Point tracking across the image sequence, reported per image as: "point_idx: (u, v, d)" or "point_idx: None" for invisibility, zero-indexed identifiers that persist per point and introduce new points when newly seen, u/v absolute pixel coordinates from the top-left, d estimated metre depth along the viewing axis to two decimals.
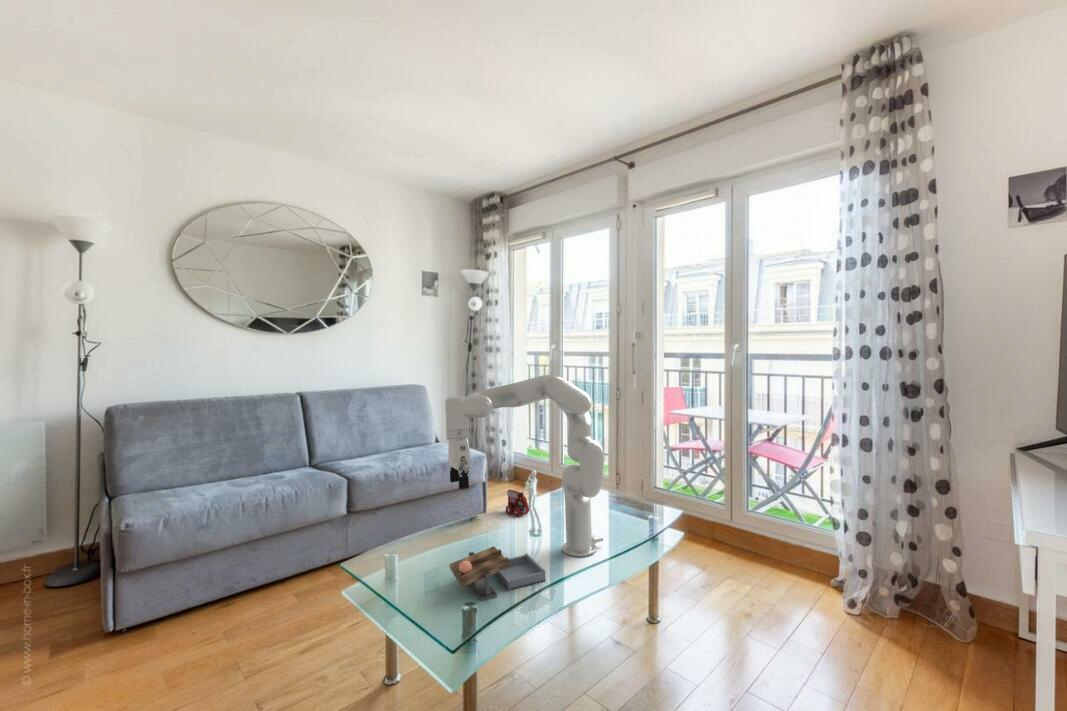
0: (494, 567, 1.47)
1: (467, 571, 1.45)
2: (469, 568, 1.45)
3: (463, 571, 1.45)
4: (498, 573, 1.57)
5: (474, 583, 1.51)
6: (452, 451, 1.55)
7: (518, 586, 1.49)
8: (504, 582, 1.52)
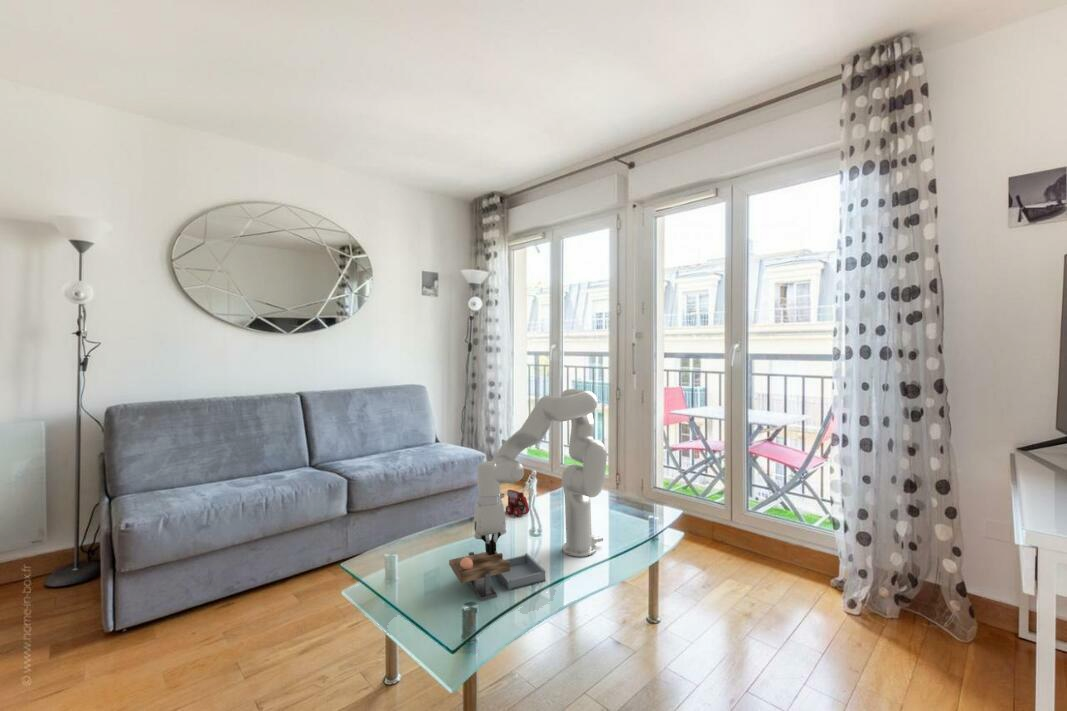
0: (495, 569, 1.47)
1: (468, 568, 1.45)
2: (470, 565, 1.45)
3: (464, 567, 1.45)
4: None
5: (474, 583, 1.51)
6: (496, 516, 1.57)
7: (518, 586, 1.49)
8: (504, 582, 1.52)
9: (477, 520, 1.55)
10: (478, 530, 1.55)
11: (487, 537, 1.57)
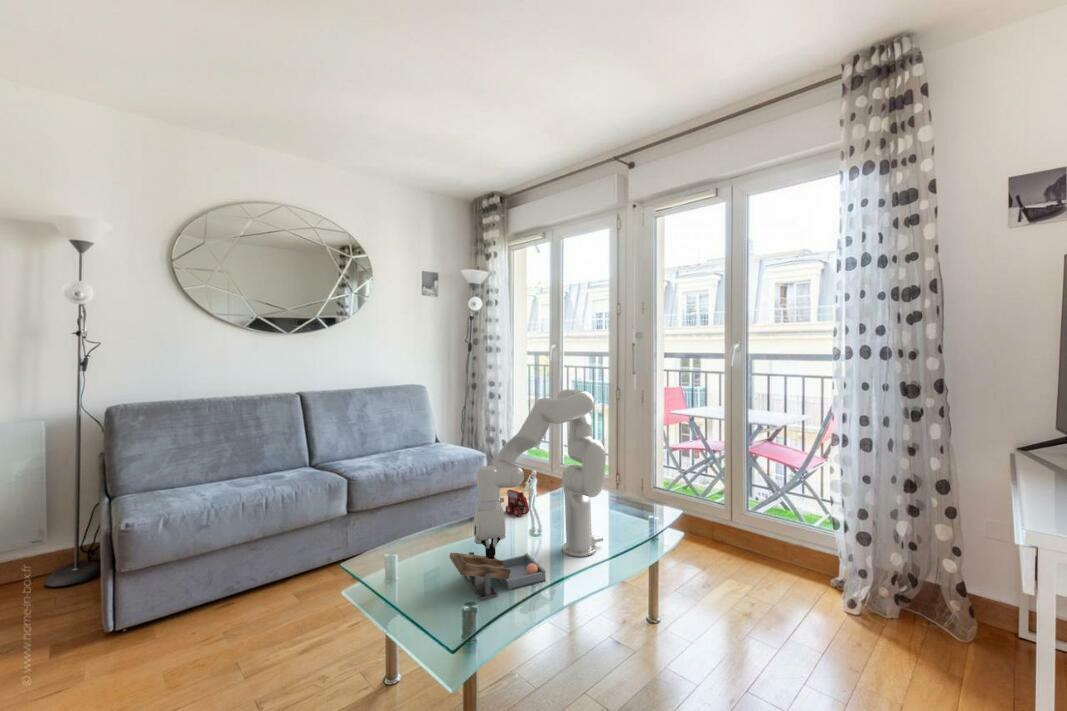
0: (495, 571, 1.47)
1: (535, 572, 1.54)
2: (535, 569, 1.55)
3: None
4: None
5: (474, 583, 1.51)
6: (496, 521, 1.57)
7: (518, 586, 1.49)
8: (504, 582, 1.52)
9: (477, 525, 1.55)
10: (478, 535, 1.55)
11: (487, 542, 1.57)
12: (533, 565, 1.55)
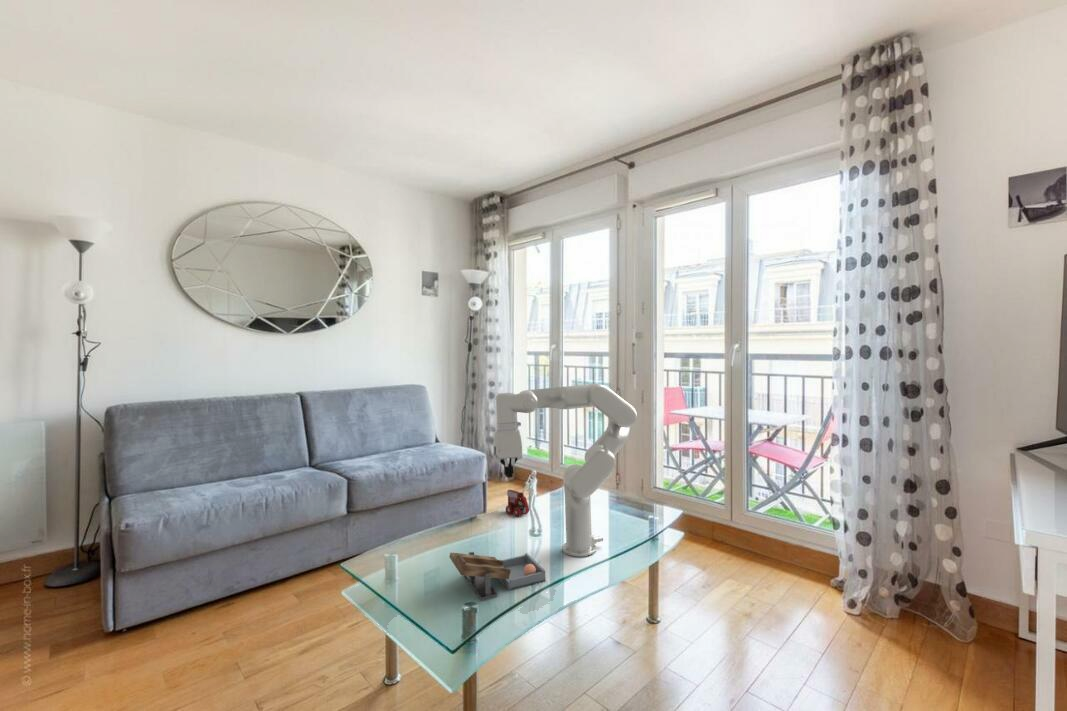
0: (495, 571, 1.47)
1: (533, 572, 1.54)
2: (532, 569, 1.54)
3: None
4: None
5: (474, 583, 1.51)
6: (514, 441, 1.72)
7: (518, 586, 1.49)
8: (504, 582, 1.52)
9: (496, 445, 1.70)
10: (497, 453, 1.70)
11: (506, 461, 1.72)
12: (529, 566, 1.55)
